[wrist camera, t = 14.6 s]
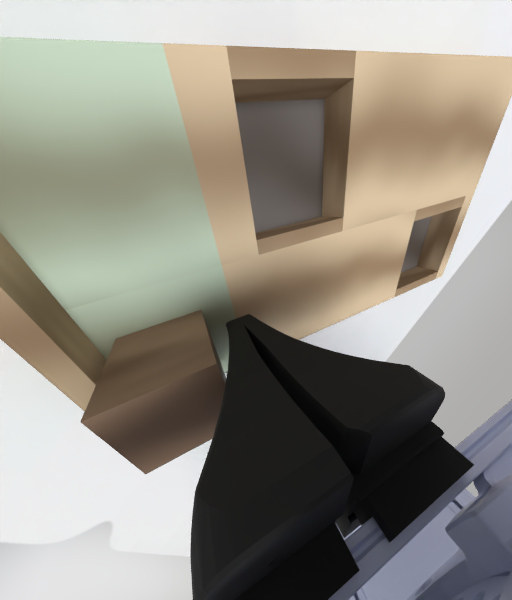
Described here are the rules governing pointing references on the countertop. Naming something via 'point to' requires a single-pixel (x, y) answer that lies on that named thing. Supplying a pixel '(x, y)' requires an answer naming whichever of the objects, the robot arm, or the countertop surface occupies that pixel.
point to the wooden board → (225, 187)
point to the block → (159, 392)
